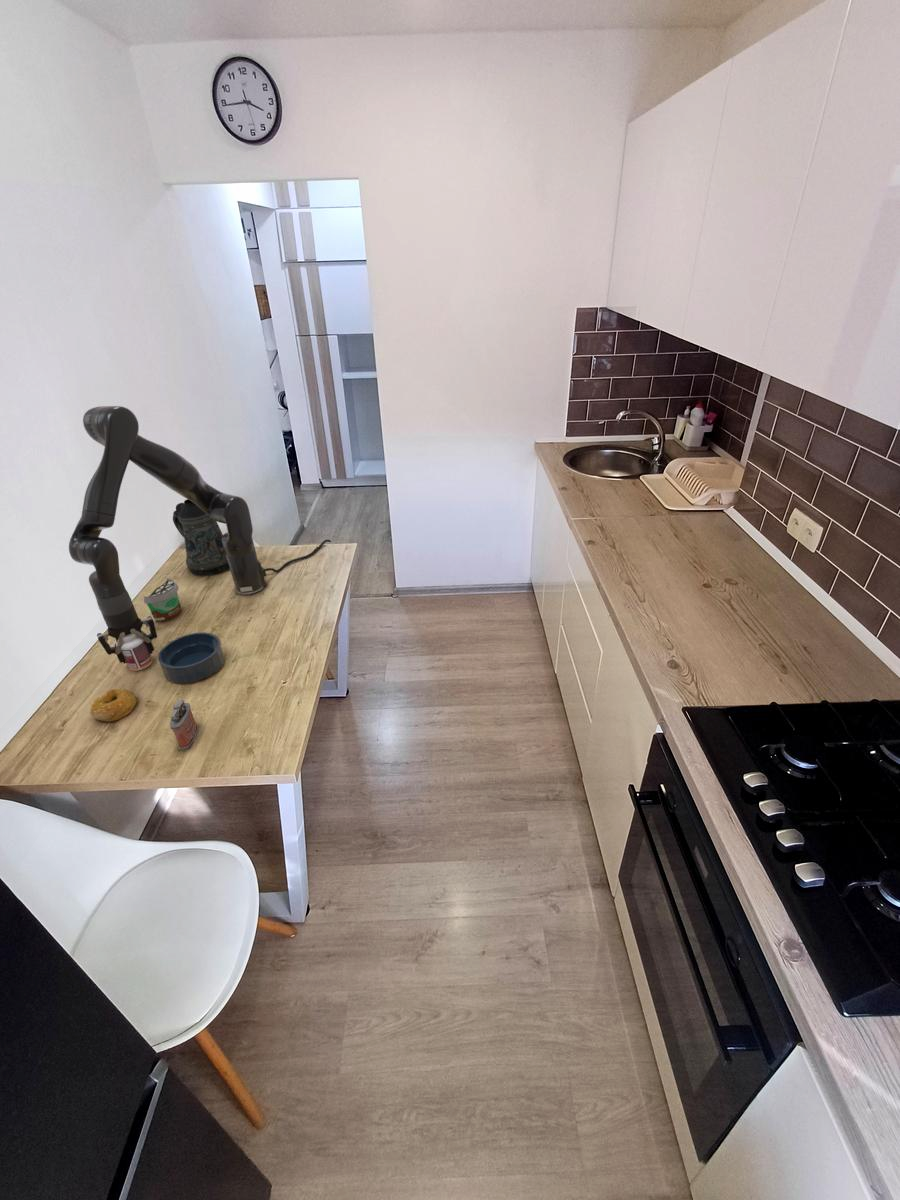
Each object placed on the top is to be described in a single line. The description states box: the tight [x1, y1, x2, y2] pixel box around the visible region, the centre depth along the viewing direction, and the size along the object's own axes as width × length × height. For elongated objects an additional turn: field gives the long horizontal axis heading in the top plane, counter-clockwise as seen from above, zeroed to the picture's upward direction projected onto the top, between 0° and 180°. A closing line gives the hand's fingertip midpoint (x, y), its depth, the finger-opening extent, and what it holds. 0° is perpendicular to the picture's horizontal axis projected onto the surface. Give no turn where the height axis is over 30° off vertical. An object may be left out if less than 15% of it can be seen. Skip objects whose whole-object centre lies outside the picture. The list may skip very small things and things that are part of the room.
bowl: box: [157, 631, 226, 684], centre depth 156 cm, size 16×16×6 cm
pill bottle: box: [121, 633, 153, 672], centre depth 157 cm, size 6×6×11 cm
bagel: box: [90, 688, 138, 723], centre depth 143 cm, size 10×11×5 cm
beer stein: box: [172, 499, 230, 577], centre depth 202 cm, size 16×19×25 cm
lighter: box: [169, 698, 200, 752], centre depth 132 cm, size 8×3×10 cm, turn 5°
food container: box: [143, 577, 182, 623], centre depth 178 cm, size 12×6×10 cm, turn 168°
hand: (137, 657), depth 158 cm, fingers closed on pill bottle, 6 cm apart
